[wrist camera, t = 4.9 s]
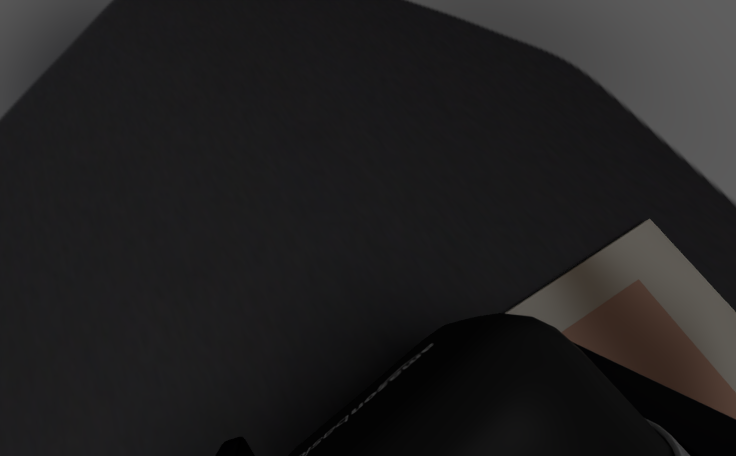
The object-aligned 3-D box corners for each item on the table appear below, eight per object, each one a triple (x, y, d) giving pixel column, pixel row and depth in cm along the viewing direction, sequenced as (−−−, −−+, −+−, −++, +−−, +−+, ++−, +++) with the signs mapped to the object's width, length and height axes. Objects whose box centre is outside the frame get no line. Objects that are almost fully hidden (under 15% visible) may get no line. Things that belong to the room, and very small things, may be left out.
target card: (665, 679, 12) (675, 690, 11) (453, 346, 15) (455, 346, 15) (876, 478, 13) (891, 481, 13) (643, 221, 17) (649, 218, 17)
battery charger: (430, 321, 15) (565, 248, 5) (492, 398, 14) (850, 531, 4) (296, 433, 14) (49, 700, 3) (354, 527, 13) (274, 1360, 2)
